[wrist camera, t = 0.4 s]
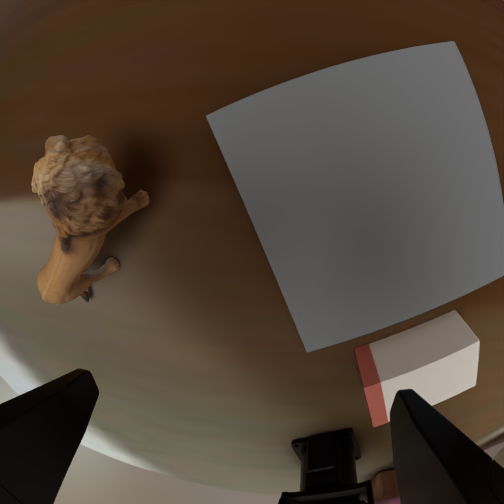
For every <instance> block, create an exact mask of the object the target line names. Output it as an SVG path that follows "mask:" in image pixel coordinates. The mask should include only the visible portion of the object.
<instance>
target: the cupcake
mask: <svg viewBox="0 0 504 504" xmlns="http://www.w3.org/2000/svg"><path fill="white" fill-rule="evenodd" d="M372 490H373V498H374V504H401V503H400V497H399V491H398V485H397V479H396V474H395V470H389V471H383V472H380V473H378V474H377V475H376V477H375V478H374V479H373V482H372Z"/></svg>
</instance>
